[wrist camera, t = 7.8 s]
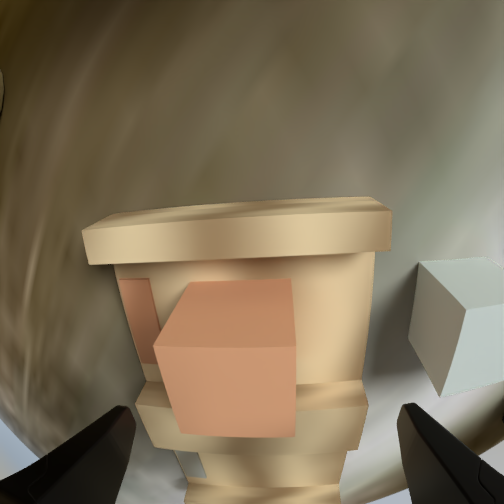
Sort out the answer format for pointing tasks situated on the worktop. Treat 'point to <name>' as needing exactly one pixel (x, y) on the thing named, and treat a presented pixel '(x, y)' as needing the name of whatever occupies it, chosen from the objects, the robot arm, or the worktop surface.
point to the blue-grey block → (459, 323)
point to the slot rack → (306, 329)
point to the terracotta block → (231, 359)
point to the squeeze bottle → (1, 89)
